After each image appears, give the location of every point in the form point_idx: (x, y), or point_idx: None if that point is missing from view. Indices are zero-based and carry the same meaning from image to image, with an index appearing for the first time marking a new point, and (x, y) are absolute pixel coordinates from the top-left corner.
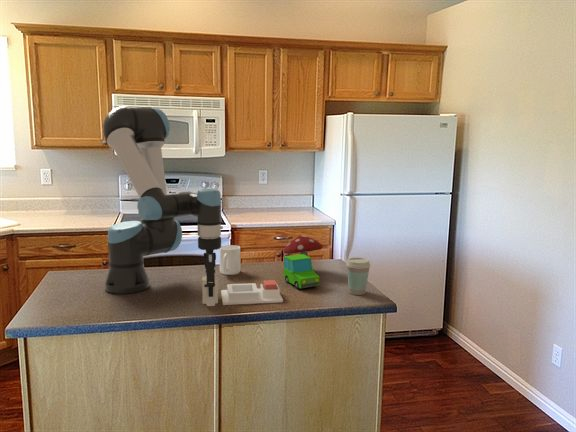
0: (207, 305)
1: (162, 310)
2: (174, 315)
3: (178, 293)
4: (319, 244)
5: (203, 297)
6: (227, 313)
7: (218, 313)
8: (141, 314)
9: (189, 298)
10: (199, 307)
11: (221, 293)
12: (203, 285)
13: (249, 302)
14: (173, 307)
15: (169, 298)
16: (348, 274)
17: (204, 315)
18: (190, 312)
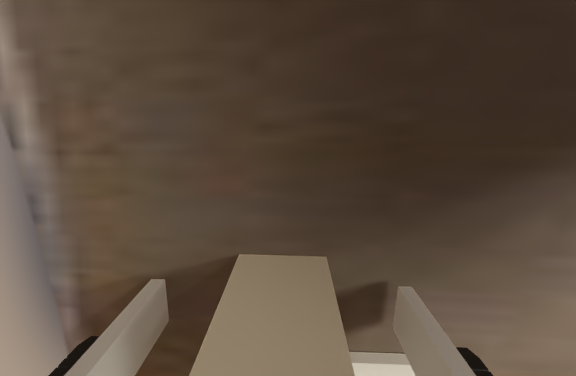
0: (150, 285)
1: (137, 3)
2: (51, 90)
3: (469, 109)
4: None
5: (230, 280)
6: None
7: (92, 319)
8: None
9: (347, 182)
10: (182, 235)
11: (367, 360)
12: (203, 350)
13: None
14: (191, 80)
15: (376, 44)
16: None
17: (61, 255)
18: (103, 185)
